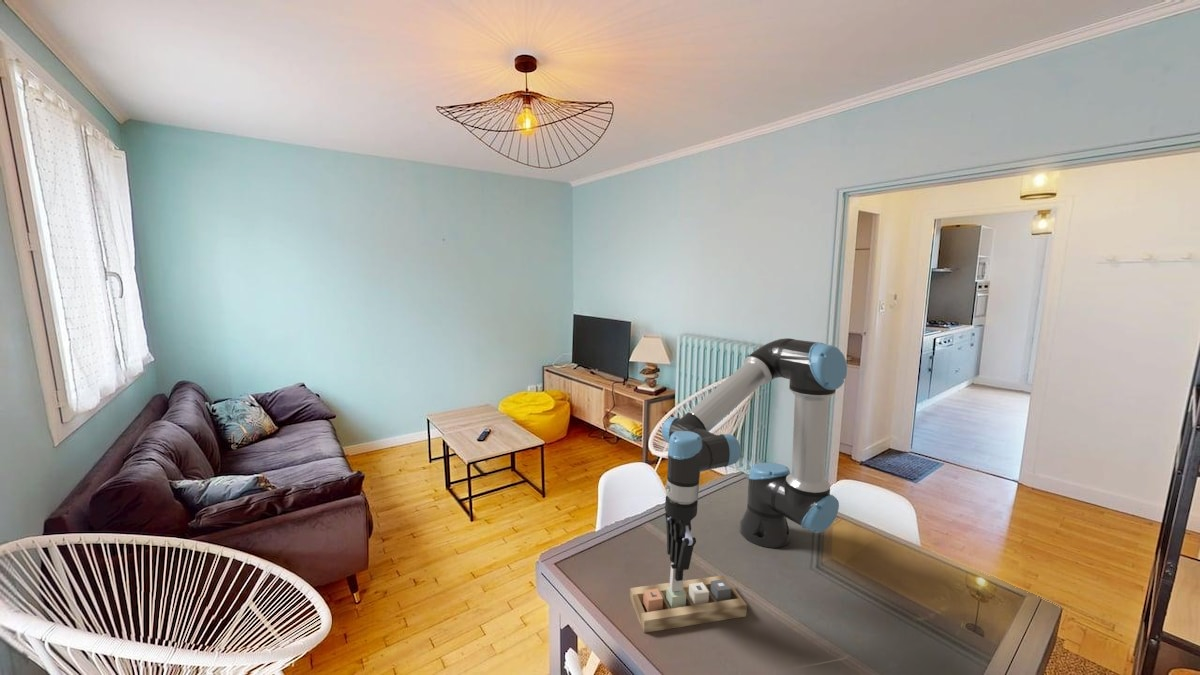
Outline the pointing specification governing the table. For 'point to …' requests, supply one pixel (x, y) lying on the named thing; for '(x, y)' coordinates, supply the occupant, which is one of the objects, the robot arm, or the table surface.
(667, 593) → the sage key
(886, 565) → the table surface
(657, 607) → the terracotta key
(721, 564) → the table surface
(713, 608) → the keypad frame
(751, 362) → the robot arm
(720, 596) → the charcoal key
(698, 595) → the cream key
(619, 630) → the table surface
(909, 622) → the table surface
